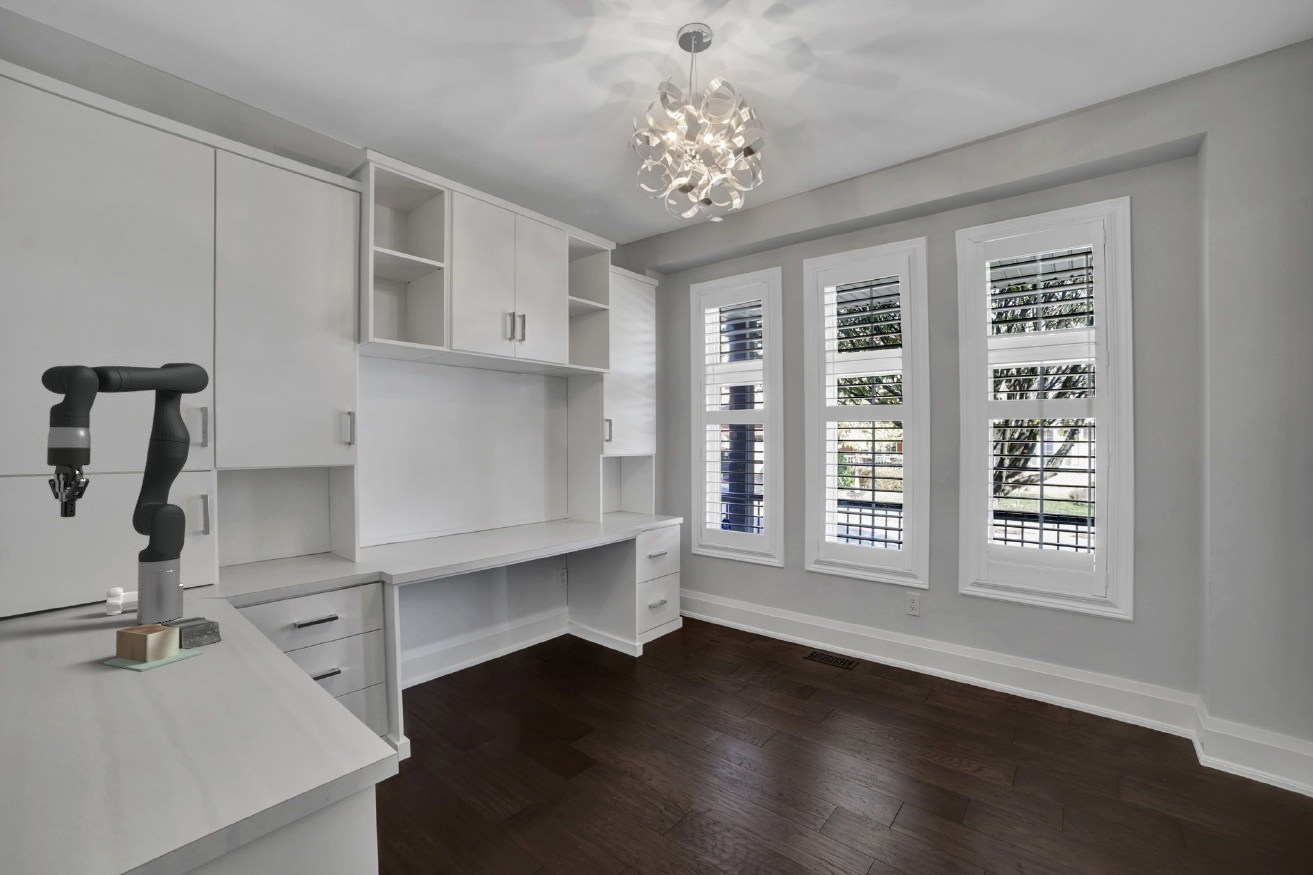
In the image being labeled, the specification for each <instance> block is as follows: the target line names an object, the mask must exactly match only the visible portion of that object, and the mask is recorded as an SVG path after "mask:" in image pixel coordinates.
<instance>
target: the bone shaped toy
mask: <svg viewBox="0 0 1313 875" xmlns="http://www.w3.org/2000/svg"><path fill="white" fill-rule="evenodd" d="M105 607H106V616H109V614H115V613H120V614H122V612H123V611H124V609H128V608H137V607H138V590H135V591H126V592H124V588H123V587H119V586H118V587H117V586H116V587H112V588H109V590H108V591H107V592H106V603H105Z"/></svg>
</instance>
